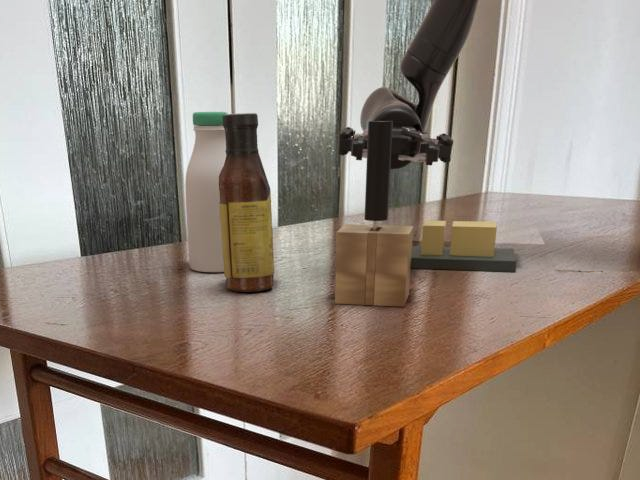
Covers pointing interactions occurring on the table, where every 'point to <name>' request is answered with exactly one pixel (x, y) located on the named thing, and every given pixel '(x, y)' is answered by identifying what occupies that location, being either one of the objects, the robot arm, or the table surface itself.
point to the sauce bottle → (245, 209)
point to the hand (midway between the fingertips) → (395, 153)
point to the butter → (462, 248)
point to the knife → (378, 171)
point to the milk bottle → (205, 193)
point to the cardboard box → (373, 265)
